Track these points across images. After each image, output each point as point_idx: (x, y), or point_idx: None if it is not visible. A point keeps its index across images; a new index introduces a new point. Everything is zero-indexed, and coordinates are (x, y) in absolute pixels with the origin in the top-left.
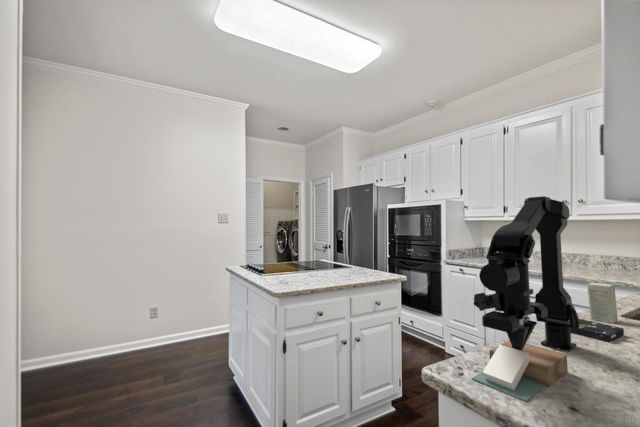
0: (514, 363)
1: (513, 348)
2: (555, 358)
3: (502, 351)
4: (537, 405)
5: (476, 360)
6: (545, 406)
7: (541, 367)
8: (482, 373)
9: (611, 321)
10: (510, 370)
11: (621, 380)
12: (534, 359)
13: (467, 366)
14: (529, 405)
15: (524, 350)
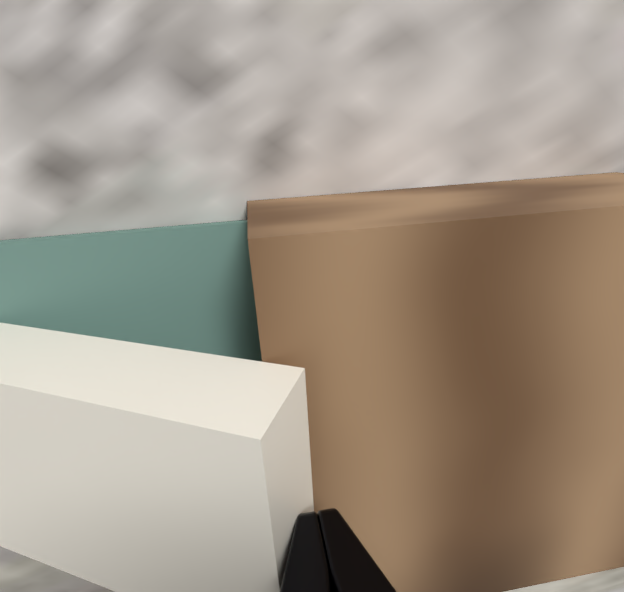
0: (122, 567)
1: (290, 556)
2: (511, 575)
3: (175, 480)
4: (58, 576)
5: (266, 28)
6: (88, 589)
7: None
8: (46, 253)
9: None
10: (56, 538)
11: (598, 573)
12: (386, 539)
13: (53, 55)
14: (16, 566)
15: (526, 420)
